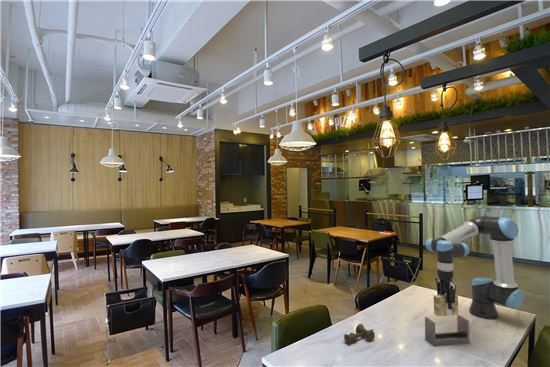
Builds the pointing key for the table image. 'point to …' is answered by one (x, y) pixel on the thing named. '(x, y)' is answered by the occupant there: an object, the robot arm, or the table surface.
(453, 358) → the table surface
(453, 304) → the door panel
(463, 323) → the grey u-shaped piece
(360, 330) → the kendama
